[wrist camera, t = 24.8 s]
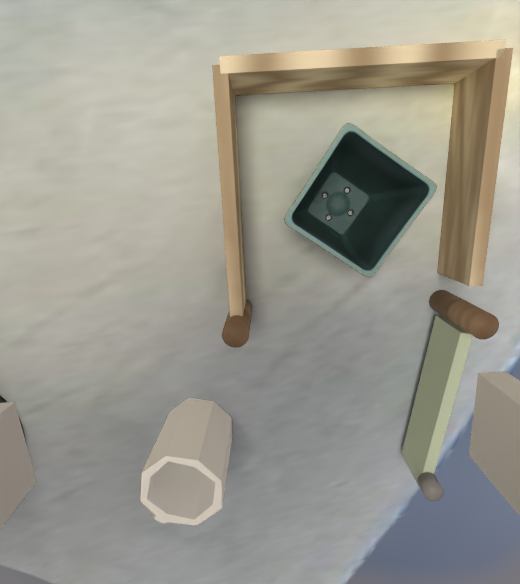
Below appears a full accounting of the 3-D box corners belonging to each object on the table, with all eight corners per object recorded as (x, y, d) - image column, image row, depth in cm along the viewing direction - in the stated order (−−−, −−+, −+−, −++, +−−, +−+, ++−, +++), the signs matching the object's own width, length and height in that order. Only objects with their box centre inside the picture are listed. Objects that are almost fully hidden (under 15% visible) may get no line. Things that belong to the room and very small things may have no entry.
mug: (183, 386, 41) (158, 442, 32) (246, 416, 42) (240, 479, 33) (143, 459, 44) (110, 530, 35) (203, 486, 45) (187, 562, 36)
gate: (432, 315, 37) (467, 339, 31) (450, 316, 37) (489, 342, 31) (398, 453, 42) (422, 500, 36) (414, 455, 42) (441, 502, 36)
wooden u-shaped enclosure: (231, 318, 39) (222, 348, 31) (215, 82, 33) (199, 46, 25) (450, 310, 38) (496, 338, 30) (475, 67, 32) (542, 25, 24)
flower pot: (327, 139, 34) (347, 118, 25) (397, 189, 35) (441, 186, 26) (278, 216, 36) (281, 221, 27) (346, 261, 37) (370, 280, 28)
